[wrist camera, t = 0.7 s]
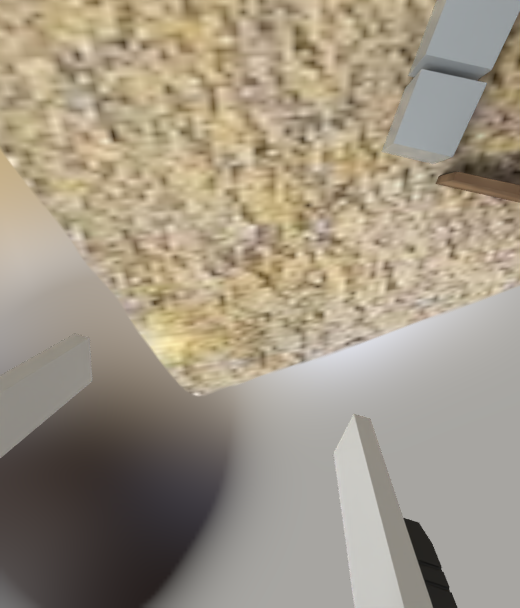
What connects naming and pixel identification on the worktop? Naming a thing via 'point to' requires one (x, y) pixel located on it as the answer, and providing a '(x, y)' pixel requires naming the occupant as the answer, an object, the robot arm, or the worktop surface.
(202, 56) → the worktop surface
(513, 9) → the light grey square block
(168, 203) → the worktop surface
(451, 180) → the frame
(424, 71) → the tile
